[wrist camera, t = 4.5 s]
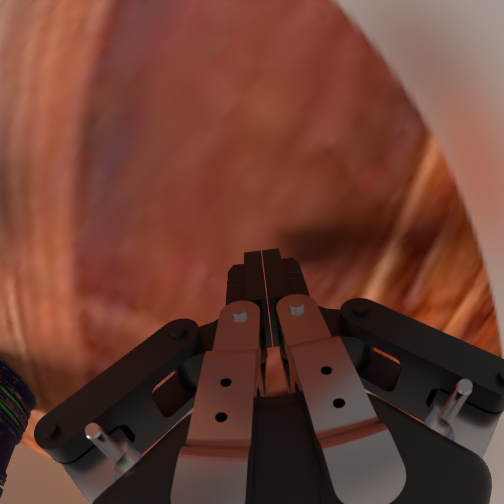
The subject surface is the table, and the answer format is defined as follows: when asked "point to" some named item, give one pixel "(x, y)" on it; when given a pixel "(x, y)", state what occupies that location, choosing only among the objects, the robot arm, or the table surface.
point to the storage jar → (12, 413)
